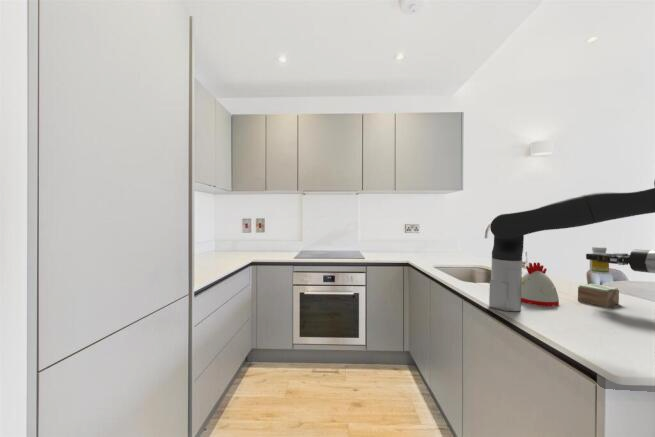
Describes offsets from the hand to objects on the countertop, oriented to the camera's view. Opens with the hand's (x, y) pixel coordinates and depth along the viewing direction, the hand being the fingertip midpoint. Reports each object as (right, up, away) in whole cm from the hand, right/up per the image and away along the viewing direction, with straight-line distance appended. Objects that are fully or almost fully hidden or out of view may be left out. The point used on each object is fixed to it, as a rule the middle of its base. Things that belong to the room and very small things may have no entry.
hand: (591, 256), depth 114 cm
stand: (+3, -18, 0) cm, 18 cm away
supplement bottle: (+1, -6, -2) cm, 7 cm away
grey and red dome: (-21, -18, 0) cm, 27 cm away
